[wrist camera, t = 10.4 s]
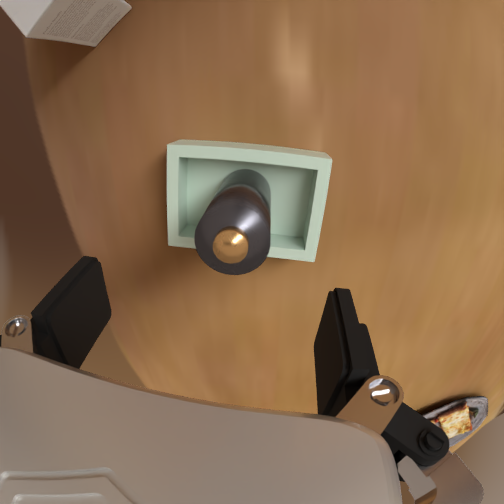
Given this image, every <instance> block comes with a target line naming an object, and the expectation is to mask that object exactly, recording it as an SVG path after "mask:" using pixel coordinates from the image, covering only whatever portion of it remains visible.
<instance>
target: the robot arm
mask: <svg viewBox="0 0 504 504" xmlns="http://www.w3.org/2000/svg"><path fill="white" fill-rule="evenodd" d="M31 314H32V319H31V320H30V319H29V318H28V317H26V316H23V315H19V316H15V317H13V318H11V319H9V320H8V321H7V322H6V323H5V324H4V326H3V328H2V335H0V504H402V497H401V488H400V482H399V480H400V481H403V482H406V483H407V484H408V486H409V487H410V489H408V490H409V492H410V493H411V494H412V495H413V498H414V500H415V504H480V503H481V501H482V499H483V495H484V493H483V487H482V485H481V483H480V482H479V481H478V480H477V478H476V477H475V476H474V475H473V474H472V472H471V471H470V470H469V469H468V467H467V466H466V465H465V464H464V463H463V461H462V460H461V459H460V458H459V457H458V455H457V454H456V453H454V454H453V455H452V453H451V452H450V451H449V439H448V436H447V435H446V433H445V432H444V431H443V430H442V429H441V428H439V427H438V426H437V425H435V424H434V423H432V422H431V421H429V420H428V419H426V418H425V417H423V416H422V415H420V414H419V413H418V412H416V411H415V410H413V409H412V408H410V407H409V406H408V405H406V404H405V403H403V402H402V401H403V398H404V392H403V390H402V387H401V386H400V385H399V383H398V382H397V381H395V380H394V379H392V378H390V377H388V376H383V375H380V374H379V370H378V366H377V362H376V358H375V354H374V351H373V347H372V343H371V339H370V336H369V332H368V328H367V326H366V325H365V324H360V323H359V321H358V318H357V314H356V310H355V306H354V303H353V299H352V296H351V292H350V290H349V289H342V288H335V289H334V291H329V293H328V297H327V300H326V304H325V307H324V311H323V314H322V318H321V321H320V325H319V328H318V332H317V335H316V338H315V342H314V357H315V371H316V387H317V405H318V414H310V413H301V412H290V411H280V410H270V409H261V408H253V407H245V406H238V405H230V404H224V403H217V402H211V401H205V400H200V399H194V398H189V397H184V396H179V395H174V394H169V393H165V392H160V391H156V390H151V389H147V388H143V387H139V386H135V385H131V384H127V383H124V382H120V381H116V380H113V379H109V378H106V377H102V376H99V375H96V374H93V373H90V372H86V371H83V370H80V369H79V368H80V366H81V365H82V363H83V361H84V360H85V358H86V356H87V355H88V353H89V351H90V350H91V348H92V346H93V345H94V343H95V342H96V340H97V338H98V337H99V335H100V334H101V332H102V330H103V329H104V327H105V326H106V324H107V323H108V321H109V319H110V317H111V307H110V303H109V299H108V295H107V290H106V286H105V281H104V276H103V272H102V267H101V263H100V262H99V261H98V259H97V258H95V257H89V256H83V257H82V258H81V259H80V260H79V261H78V262H77V263H76V264H75V265H74V266H73V267H72V268H71V269H70V270H69V271H68V272H67V274H66V275H65V276H64V277H63V278H62V279H61V280H60V281H59V282H58V283H57V284H56V286H54V288H53V289H51V291H50V292H49V293H48V294H47V295H46V296H45V297H44V298H43V299H42V301H41V302H40V303H39V304H38V305H37V306H36V307H35V309H34V310H33V311H32V312H31Z"/></svg>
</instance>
